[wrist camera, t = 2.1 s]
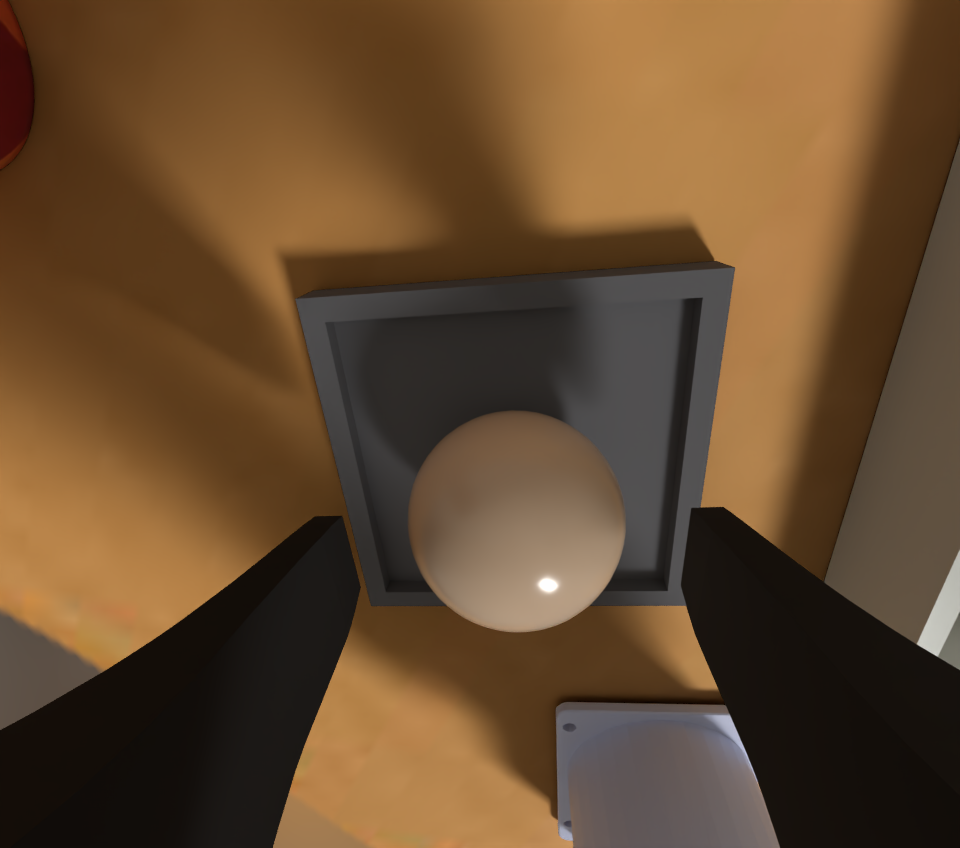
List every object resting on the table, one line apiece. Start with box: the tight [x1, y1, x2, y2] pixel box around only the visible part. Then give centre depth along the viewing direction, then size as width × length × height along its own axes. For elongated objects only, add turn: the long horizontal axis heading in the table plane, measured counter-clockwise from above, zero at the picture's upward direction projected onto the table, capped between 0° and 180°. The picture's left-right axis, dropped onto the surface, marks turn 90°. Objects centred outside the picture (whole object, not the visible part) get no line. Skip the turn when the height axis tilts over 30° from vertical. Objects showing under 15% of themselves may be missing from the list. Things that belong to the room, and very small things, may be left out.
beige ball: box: [408, 410, 626, 632], centre depth 11 cm, size 5×5×5 cm
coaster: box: [295, 261, 735, 606], centre depth 13 cm, size 10×10×1 cm
